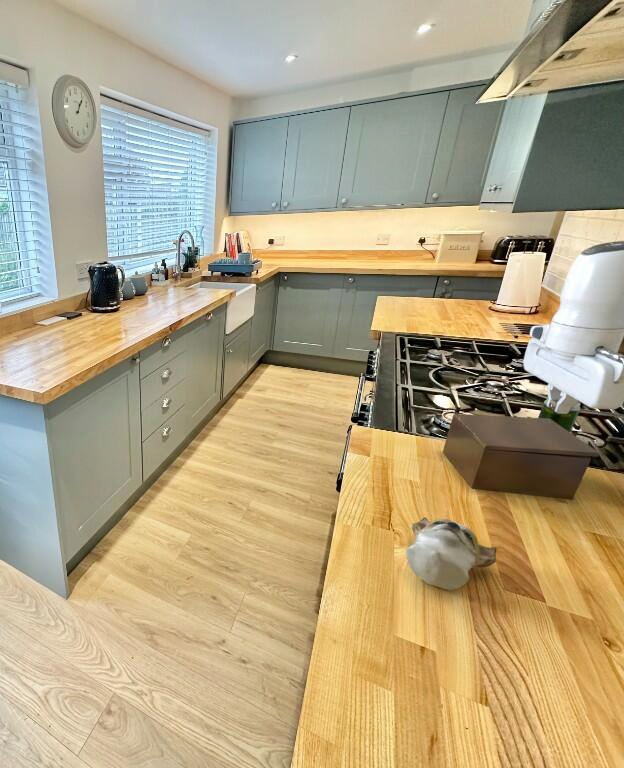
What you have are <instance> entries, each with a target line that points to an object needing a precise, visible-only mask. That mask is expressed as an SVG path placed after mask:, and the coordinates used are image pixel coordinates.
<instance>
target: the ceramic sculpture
mask: <svg viewBox="0 0 624 768" xmlns="http://www.w3.org/2000/svg"><path fill="white" fill-rule="evenodd" d="M411 531H412V532H413V534H414V536H415V540H414V543H413V544H411V545H410V546H408V547H407V548H406V551H405V554H406V555H405V556H406V557H405V558H406V561H407V564H408V566H409V568H410V571H412V572H413V574H415V575H416V576H418V578H420V579H421V580H422V581H423V582H424V583H426V584H428V585H430V586H432V587H436V588H441V589H443V590H447V591H453V590H457V589H461V587H463V586H464V585H466V584H467V583H468V582H469V580H470V576H469V572H470V570H471V569H474V568H487V567H490V566H492V565H493V564H495V563H496V562H497V555H496V554H497V547H495V546H492V547H488V546H483V545H482V544H479V542H478V538H477V536H476V534H475V533H474V532H473V531H472V530H471V529H470V528H469V527H467V526H465V525H463V524H461V523H459V522H457V521H454V520H451V519H448V518H437V519H434V520H432V521H431V522H430V521H429V520H428V518H427V517H426V516H424V517H423V518H422V519H421V520H420V521H418V522H414V523H412V525H411Z"/></svg>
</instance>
